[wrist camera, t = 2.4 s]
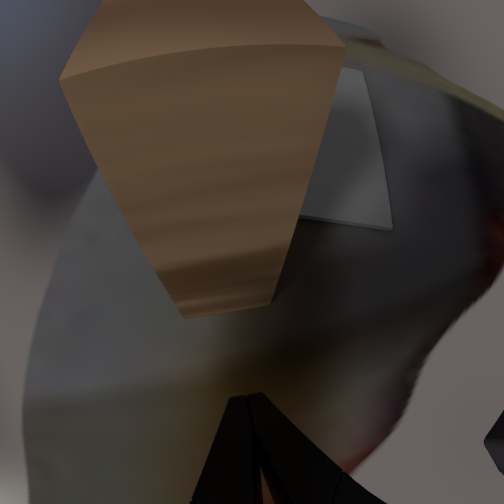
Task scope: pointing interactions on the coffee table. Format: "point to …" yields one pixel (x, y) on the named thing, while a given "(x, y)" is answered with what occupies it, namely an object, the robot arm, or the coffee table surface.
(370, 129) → the mat
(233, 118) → the block
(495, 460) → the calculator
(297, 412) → the coffee table surface
